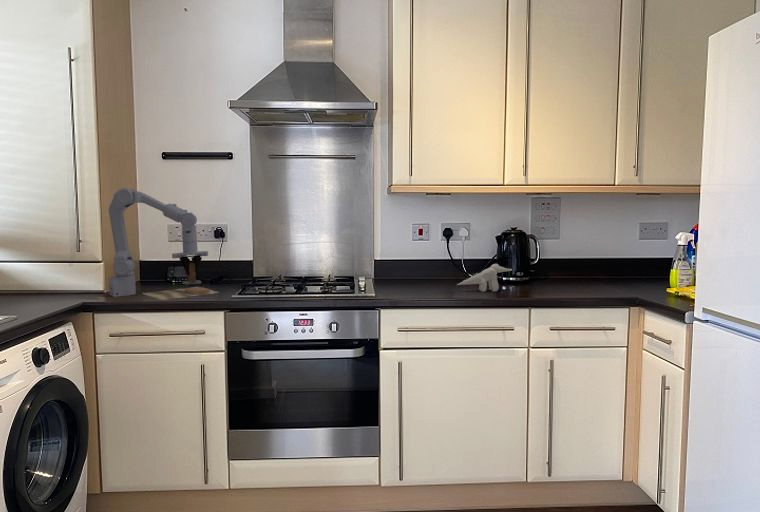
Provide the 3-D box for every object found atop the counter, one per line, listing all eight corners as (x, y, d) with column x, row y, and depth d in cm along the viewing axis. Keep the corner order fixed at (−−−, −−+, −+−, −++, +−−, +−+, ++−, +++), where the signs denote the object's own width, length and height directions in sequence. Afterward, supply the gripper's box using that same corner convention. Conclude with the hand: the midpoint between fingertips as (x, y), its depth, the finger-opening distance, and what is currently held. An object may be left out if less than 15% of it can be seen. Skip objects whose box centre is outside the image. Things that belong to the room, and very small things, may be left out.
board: (161, 302, 201) (161, 300, 201) (141, 295, 217) (141, 293, 217) (220, 294, 217) (220, 292, 217) (197, 288, 233) (197, 286, 233)
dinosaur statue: (516, 289, 215) (514, 262, 214) (458, 296, 214) (456, 269, 213) (511, 287, 222) (508, 261, 221) (455, 294, 221) (452, 267, 220)
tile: (185, 292, 218) (193, 295, 212) (185, 289, 217) (193, 291, 212) (201, 290, 222) (209, 292, 216) (201, 287, 222) (209, 289, 216)
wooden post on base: (187, 284, 217) (186, 264, 216) (182, 283, 220) (181, 263, 220) (201, 283, 221) (200, 263, 220) (196, 282, 224) (195, 262, 224)
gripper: (176, 243, 211) (177, 276, 212) (210, 241, 221) (212, 273, 222) (169, 242, 216) (171, 275, 218) (203, 240, 226) (204, 272, 227)
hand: (191, 274), depth 220 cm, fingers closed on wooden post on base, 2 cm apart
